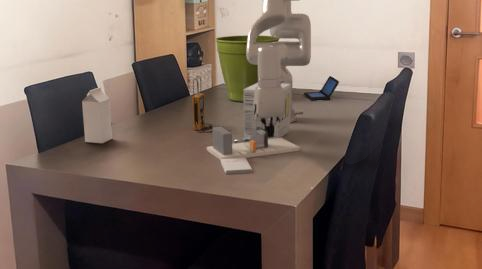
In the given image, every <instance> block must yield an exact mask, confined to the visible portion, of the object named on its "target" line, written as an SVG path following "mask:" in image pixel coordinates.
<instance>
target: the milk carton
mask: <svg viewBox="0 0 482 269" xmlns="http://www.w3.org/2000/svg"><path fill="white" fill-rule="evenodd" d="M81 103H82V118H83V129H84V130H83V131H84V143H92V144H94V143H95V144H104V143H107V142H108V141H110V140H112V139H113V129H112V128H113V126H112V115H111V113H112V112H111V98H110V97H109V96H108V95H106V93H105V92H104V91H102V89H101V86H100V87H96V88H94V89H91V90H89V91H88V92H87V94H86V97H85V98H84V99H83V100H82V101H81Z"/></svg>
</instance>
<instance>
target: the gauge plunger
mask: <svg viewBox="0 0 482 269" xmlns="http://www.w3.org/2000/svg"><path fill="white" fill-rule="evenodd" d="M250 140H253V141H255V142H256V149H257V148H263V147H265V148H266V147H268V131H266V130H264V129H262V128H261V127H257V130H255V131H247V132H244V131H243V138H241V139H235V140H233V142H234V143H235V144H237V143H244V145H245V146H247V147H248V148H250ZM234 143H233V144H234Z"/></svg>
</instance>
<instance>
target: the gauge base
mask: <svg viewBox="0 0 482 269" xmlns="http://www.w3.org/2000/svg"><path fill="white" fill-rule="evenodd" d="M212 127H213V128H211V132H212V145H211V146H206V151H207V152H208V153H210V154H211V155H212V156H214V157H215V158H217V159H218V160H220V161H221V159H232V158H246V159H248V158H253V157H261V156H270V155H276V154H277V155H278V154H287V153H291V152H293V153H294V152H299V151H300V149H301V148H300V146H298V145H297V144H294V143H292V142H290V141H288V140H286V139H285V138H283V137H281V138H274V139H268V147H266V148H265V147H263V148H257V149H256V151H252V150H250V148H248V147H247V146H245V145H244V143H237V144H235V143H233V133H232V132H230V131H229V130H228V129H226V128H224V127H222V126H212Z"/></svg>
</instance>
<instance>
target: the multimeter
mask: <svg viewBox="0 0 482 269" xmlns="http://www.w3.org/2000/svg"><path fill="white" fill-rule="evenodd" d="M198 78H199V79H198ZM199 80H200V82H202V77H200V76H196V78H193V80H192V90H193V93H192V94H193V95H192V97H191V98H192V102H191V103H192V125H193V130H194V131H196V132H197V133H201V134H202V133H208V132H212V128H213V127H214V126H212V124H211V123H208V125H209V126H208V128H211V129H208V130H205V131H200V130H202V129H203V128H204V127H205V126H206V125H207V123H206V121H205V120H206V117H205V116H206V115H205V94H204V93H202V91H200V90H202V83H200V89H199ZM195 81H196V94H195V87H194V84H195V83H194V82H195Z"/></svg>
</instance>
